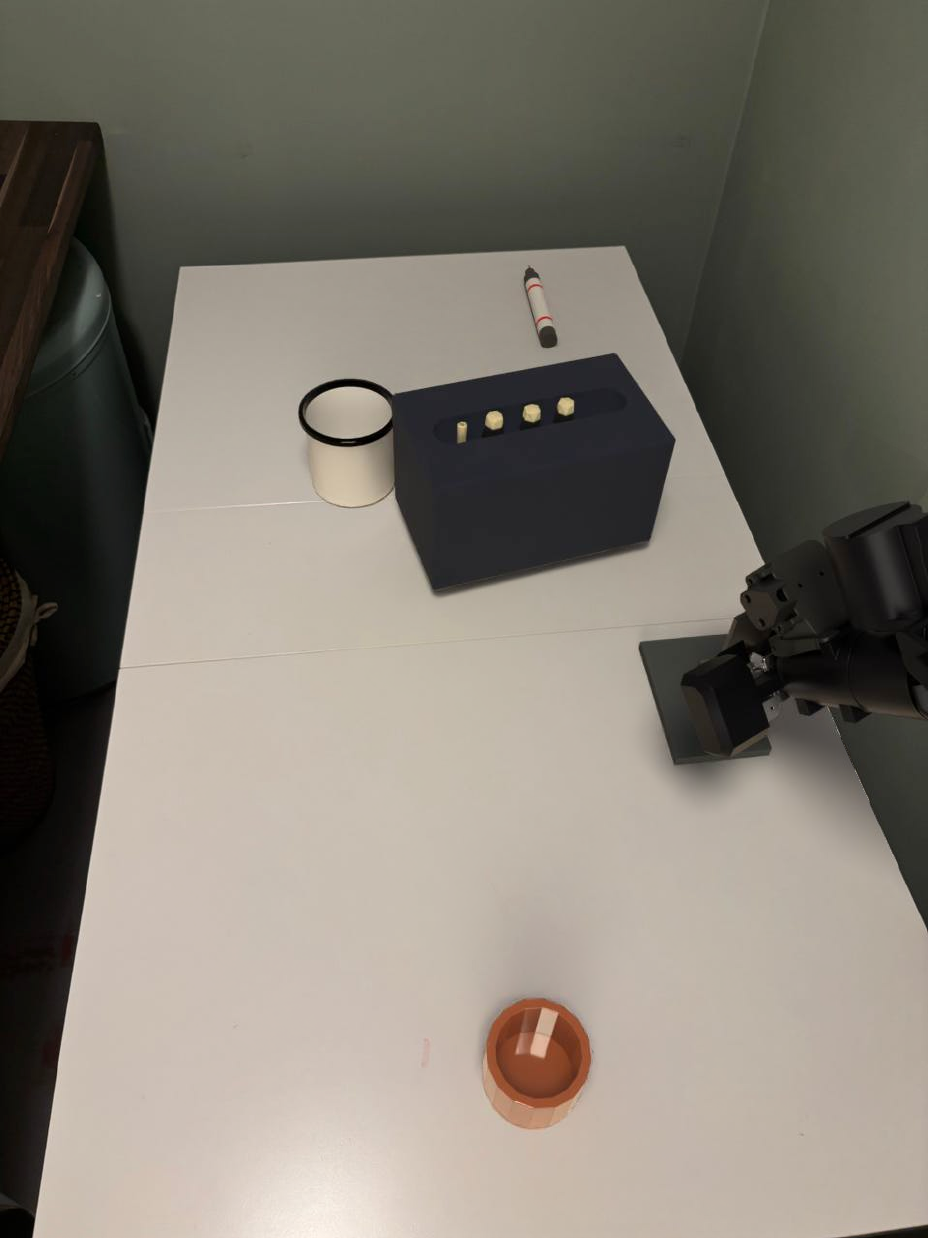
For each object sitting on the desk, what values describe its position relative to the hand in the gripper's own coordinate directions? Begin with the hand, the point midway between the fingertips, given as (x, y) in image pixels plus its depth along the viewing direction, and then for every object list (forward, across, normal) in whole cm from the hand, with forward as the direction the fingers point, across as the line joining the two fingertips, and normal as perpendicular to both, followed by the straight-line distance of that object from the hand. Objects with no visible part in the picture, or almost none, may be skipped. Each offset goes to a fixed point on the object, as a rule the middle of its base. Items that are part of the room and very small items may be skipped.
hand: (724, 654), depth 78 cm
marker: (+44, -22, -33) cm, 59 cm away
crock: (-6, +29, +17) cm, 34 cm away
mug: (+33, +10, -22) cm, 41 cm away
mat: (+6, 0, +5) cm, 8 cm away
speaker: (+23, +1, -12) cm, 26 cm away
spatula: (+4, 0, +6) cm, 7 cm away
